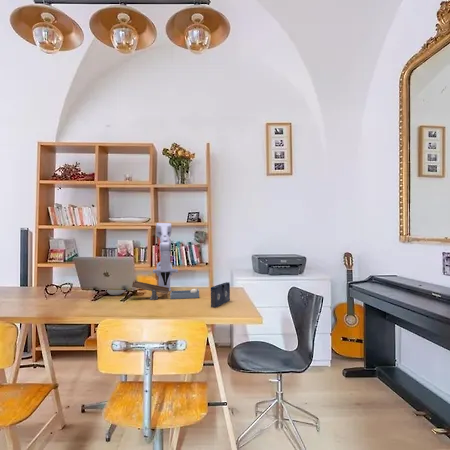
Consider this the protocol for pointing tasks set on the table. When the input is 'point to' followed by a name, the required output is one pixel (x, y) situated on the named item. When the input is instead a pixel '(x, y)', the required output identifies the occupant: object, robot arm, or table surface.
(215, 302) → the vhs cassette tape
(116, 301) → the table surface
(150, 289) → the lever
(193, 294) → the bin
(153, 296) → the lever stand
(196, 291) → the ball
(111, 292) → the teacup
